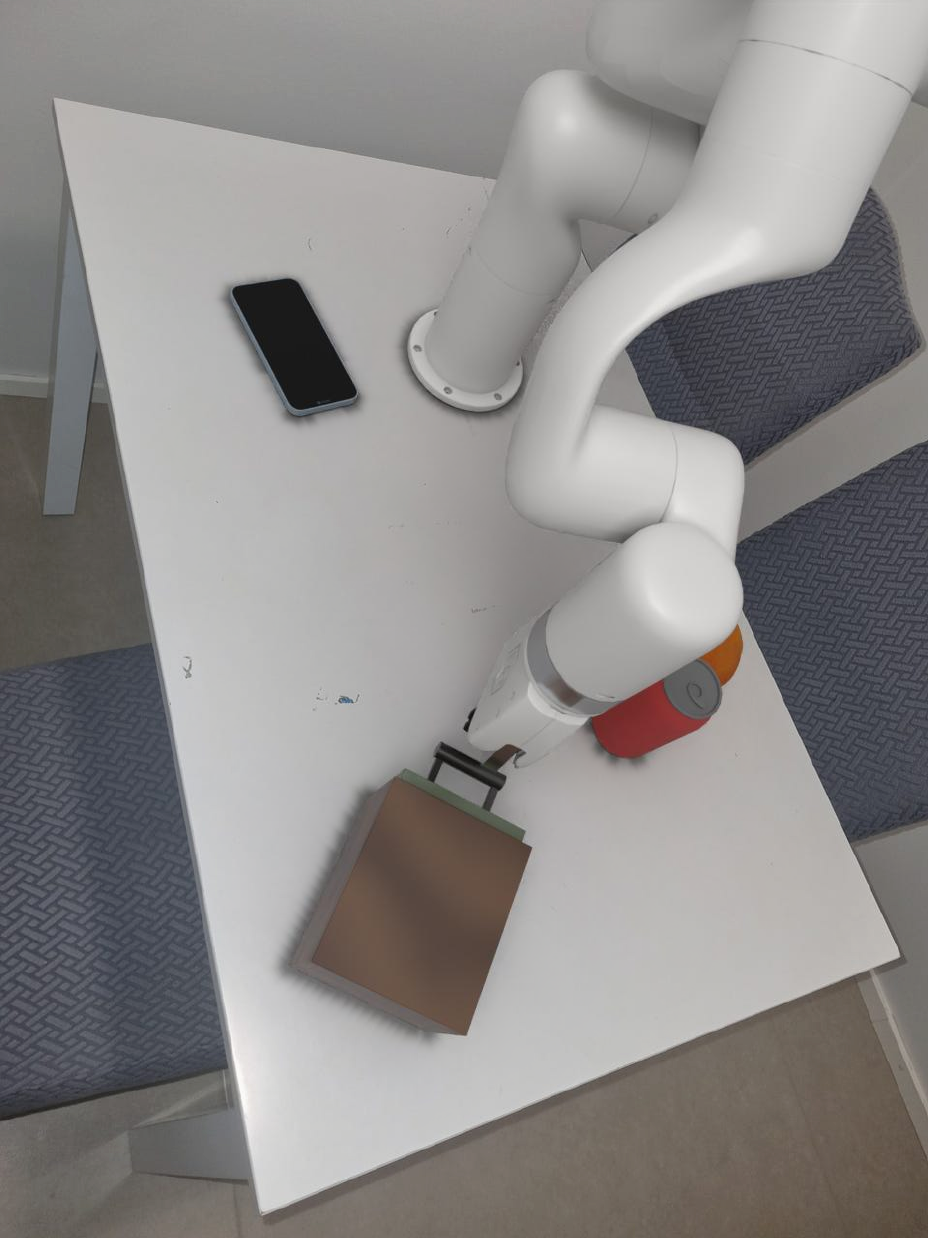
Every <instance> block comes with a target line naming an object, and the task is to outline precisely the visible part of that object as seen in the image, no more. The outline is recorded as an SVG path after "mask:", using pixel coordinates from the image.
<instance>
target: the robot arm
mask: <svg viewBox="0 0 928 1238" xmlns="http://www.w3.org/2000/svg"><path fill="white" fill-rule="evenodd" d="M585 53H586V57H587V60H588V63H589V66H590V68H591V69H592V71H593V72H594V73H592V72H588V71H583V70H577V69H569V68H568V69H567V68H566V69H565V68H564V69H563V68H562V69H555V70H551V71H548V72H546V73H544V74H542V75H540V76H539V77H538V78H536V79H535V80H534V81H533V82H532V83H531V84H530V85H529V87H528V88H527V89H526V91H525V93H524V95H523V97H522V99H521V100H520V103H519V105H518V108H517V111H516V114H515V117H514V120H513V125H512V128H511V132H510V135H509V139H508V141H507V142H508V143H507V147H506V150H505V153H504V158H503V161H502V164H501V167H500V170H499V173H498V176H497V179H496V181H495V184H494V186H493V189H492V192H491V194H490V196H489V198H488V201H487V203H486V205H485V208H484V210H483V212H482V214H481V217H480V218H479V220H478V223H477V225H476V227H475V230H474V232H473V234H472V236H471V239H470V240H469V243H468V245H467V246H466V249H465V251H464V254H463V256H462V257H461V260H460V262H459V264H458V266H457V268H456V270H455V273H454V274H453V277H452V279H451V281H450V283H449V285H448V287H447V290H446V291H445V294H444V296H443V298H442V299H441V302H440V305H439V307H438V308H434V309H432V310H429V311H427V312H426V313H424V314H423V315H421V316H420V317H418V319H417V320H416V321H415V323H414V324H413V326H412V329H411V331H410V333H409V336H408V340H407V347H406V349H407V350H406V351H407V357H408V362H409V364H410V367H411V369H412V371H413V373H414V375H415V376H416V378H417V379H418V381H419V382H420V383H421V384H422V386H423V387H424V388H425V389H426V390H428V392H429V393H430V394H432V395H433V396H434V397H435V398H436V399H438V400H440V401H442V402H443V403H445V404H447V405H450V406H451V407H453V408H457V409H459V410H463V411H468V412H476V413H481V412H490V411H494V410H497V409H499V408H502V407H503V406H505V405H507V404H508V403H509V402H510V401H511V400H513V398H514V396H515V395H516V394H517V392H518V390H519V388H520V387H521V384H522V381H523V375H524V367H523V361H522V357H523V355H524V353H525V352H526V350H527V349H528V347H529V345H530V343H531V342H532V340H533V339H534V337H535V336H536V334H537V332H538V331H539V329H540V328H541V327H542V325H543V323H544V322H545V319H546V318H547V317H548V315H549V314H550V312H551V310H552V309H553V308H554V305H555V304H556V302H557V301H558V299H559V298H560V296H561V294H562V293H563V291H564V290H565V288H566V286H567V285H568V283H569V282H570V280H571V279H572V277H573V275H574V274H575V272H576V270H577V268H578V266H579V263H580V260H581V255H582V250H583V249H582V248H583V240H582V231H581V226H580V221H579V220H585V221H589V222H593V223H596V224H600V225H602V224H603V225H605V226H609V227H612V228H614V229H615V228H616V229H619V230H622V231H625V232H628V233H631V234H634V235H636V236H635V237H633V238H632V239H630V240H628V241H627V242H626V243H624V244H623V245H622V246H621V247H618V249H617V250H615V251H614V252H613V253H611V254H610V255H608V257H607V258H606V259H605V260H603V261H602V262H600V263H599V265H598V266H597V267H596V268H594V270H593V271H592V272H591V273H590V274H589V275H588V276H587V277H586V278H585V279H584V280H583V281H582V282H581V284H580V285H578V287H577V288H576V289H575V290H574V292H573V293H572V294H571V295H570V296H569V298H568V299H567V301H566V302H565V303H564V305H563V306H562V307H561V309H560V310H559V312H558V313H557V314H556V316H555V318H554V319H553V321H552V322H551V324H550V325H549V327H548V329H547V331H546V334H545V335H544V337H543V339H542V341H541V344H540V347H539V349H538V351H537V354H536V356H535V360H534V363H533V366H532V369H531V373H530V376H529V379H528V381H527V385H526V386H525V387H526V388H525V390H524V393H523V396H522V399H521V402H520V405H519V408H518V411H517V415H516V417H515V421H514V424H513V427H512V430H511V435H510V438H509V443H508V447H507V452H506V457H505V465H504V466H505V467H504V485H505V492H506V495H507V498H508V501H509V503H510V506H511V507H512V509H513V510H514V511H515V512H516V514H517V515H518V516H519V517H520V518H521V519H523V520H524V521H526V522H528V523H529V524H531V525H533V526H535V527H538V528H540V529H543V530H547V531H551V532H557V533H560V534H567V535H571V536H577V537H582V538H589V539H594V540H600V541H606V542H611V543H616V544H620V545H618V546H617V548H616V549H614V550H613V551H612V552H611V553H610V554H609V555H608V556H607V557H605V558H604V559H603V560H602V561H601V562H600V563H599V564H598V565H596V567H594V568H593V569H592V570H591V571H590V572H589V573H587V574H586V575H585V576H584V577H583V578H582V579H581V580H580V581H579V582H578V583H577V584H575V585H574V586H573V587H572V588H571V589H569V591H568V592H566V593H565V594H564V595H563V596H561V598H560V599H558V600H557V601H556V602H555V603H554V604H552V605H550V606H548V607H547V608H545V609H543V610H542V611H541V612H539V613H538V614H536V615H535V616H534V617H532V618H531V619H530V620H528V621H527V622H526V623H525V624H523V625H522V626H521V627H519V629H517V630H516V631H515V632H513V633H512V634H511V635H510V636H509V637H508V639H507V640H506V642H505V643H504V645H503V647H502V649H501V651H500V653H499V655H498V657H497V659H496V662H495V664H494V666H493V668H492V671H491V673H490V676H489V678H488V680H487V682H486V684H485V687H484V690H483V692H482V694H481V697H480V699H479V702H478V703H477V706H475V707H474V708H472V710H471V711H470V712H469V713H468V716H467V719H468V720H467V721H465V723H464V725H463V728H462V730H463V731H464V732H466V733H467V740H468V743H469V745H471V746H472V747H474V748H475V749H476V750H478V751H481V752H483V755H482V757H481V760H480V762H481V763H480V766H482V767H484V768H486V769H488V770H490V771H491V772H493V773H496V772H497V771H498V772H499V770H501V768H502V767H504V766H505V765H506V764H507V762H509V761H510V760H511V759H512V758H513V757H514V758H513V761H512V765H513V767H514V769H523V768H526V767H529V766H531V765H533V764H535V763H536V762H538V761H539V760H542V759H543V758H545V757H546V756H547V755H549V754H550V753H551V752H553V751H554V750H556V749H557V748H559V747H560V746H561V745H562V744H563V743H565V742H566V741H567V740H568V739H569V738H571V737H572V736H573V735H574V734H575V733H576V732H578V730H579V729H581V727H582V726H584V725H585V724H586V722H588V720H589V719H590V718H592V717H593V716H597V715H600V714H603V713H604V712H606V711H608V710H610V709H611V708H613V707H615V706H617V705H618V704H620V703H622V702H623V701H625V700H627V699H629V698H630V697H632V696H633V695H635V694H637V693H639V692H640V691H642V690H644V689H646V688H647V687H649V686H651V685H653V684H654V683H656V682H658V681H660V680H661V679H663V678H665V677H666V676H668V675H670V674H672V673H673V672H675V671H677V670H678V669H680V668H682V667H684V666H685V665H687V664H689V663H691V662H692V661H694V660H696V659H697V658H699V657H701V656H703V655H704V654H706V653H708V652H709V651H711V650H713V649H714V648H716V647H717V646H718V645H720V644H721V643H723V642H724V641H725V640H726V639H727V638H728V637H729V636H730V634H731V633H732V632H733V630H734V629H735V627H736V626H737V624H738V625H739V622H740V619H741V616H742V613H743V607H744V586H743V583H742V578H741V575H740V573H739V570H738V568H737V566H736V555H737V545H738V537H739V529H740V523H741V517H742V509H743V503H744V495H745V490H746V489H745V488H746V483H745V481H746V479H745V477H746V475H745V474H746V473H745V466H744V461H743V458H742V455H741V452H740V451H739V449H738V448H737V446H736V445H735V444H734V443H733V442H732V441H731V440H730V439H728V438H727V437H725V436H723V435H721V434H719V433H716V432H713V431H710V430H706V429H703V428H699V427H694V426H691V425H686V424H682V423H677V422H672V421H669V420H664V419H661V418H660V417H656V416H651V415H647V414H643V413H639V412H635V411H631V410H626V409H622V408H618V407H614V406H610V405H606V404H603V403H598V402H596V400H597V398H598V395H599V392H600V390H601V388H602V385H603V384H604V382H605V380H606V378H607V375H608V374H609V371H610V370H611V368H612V367H613V366H614V364H615V363H616V361H617V359H618V358H619V357H620V355H621V354H622V352H623V351H624V350H625V349H626V348H627V347H628V346H629V345H630V344H631V342H632V341H633V340H634V339H636V337H638V336H639V335H640V334H642V333H643V332H644V331H645V330H646V329H647V328H648V327H650V326H651V325H652V324H654V323H655V322H656V321H657V322H658V320H660V319H662V318H663V317H665V316H666V315H668V314H670V313H671V312H673V311H675V310H677V309H679V308H681V307H684V306H685V305H688V304H691V303H692V302H695V301H697V300H700V299H703V298H706V297H709V296H711V295H715V294H719V293H722V292H727V291H729V290H733V289H736V288H741V287H746V286H750V285H755V284H756V285H757V284H761V283H767V282H774V281H781V280H788V279H794V278H798V277H804V276H807V275H810V274H812V273H813V274H814V273H815V272H819V271H820V270H822V269H824V268H825V267H827V266H829V265H830V264H831V263H832V262H833V260H835V259H836V257H838V254H840V251H841V250H842V248H843V246H844V244H845V242H846V240H847V237H848V235H849V232H850V230H851V228H852V226H853V224H854V222H855V219H856V217H857V215H858V213H859V211H860V209H861V207H862V205H863V202H864V200H865V198H866V196H867V194H868V191H869V189H870V188H871V185H872V183H873V181H874V179H875V177H876V175H877V172H878V170H879V168H880V166H881V164H882V162H883V160H884V157H885V155H886V154H887V151H888V149H889V147H890V145H891V143H892V141H893V139H894V137H895V134H896V132H897V131H898V128H899V126H900V124H901V122H902V119H903V117H904V115H905V113H906V111H907V109H908V106H909V105H910V103H911V102H912V103H914V104H917V105H920V106H922V107H924V108H926V109H928V0H596V2H595V4H594V6H593V9H592V11H591V14H590V17H589V21H588V25H587V28H586V33H585Z"/></svg>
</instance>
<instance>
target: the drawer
mask: <svg viewBox="0 0 928 1238" xmlns="http://www.w3.org/2000/svg"><path fill="white" fill-rule="evenodd" d="M432 757H433V758H434V760H433V762H432V765H431V767H430V770H429V772H428V774H427V776H426V777H423V776H421V775H420V774H418V773H416V772H414V771H413V770H411V769H408V768H407V767H405V768H404V769H403V770H401V771H400V772H399V773H397V774H396V775H395V776H396V777H398V778H400V779H402V780H404V781H406V782H408V783H410V784H412V785H414V786H415V787H417V788H419V789H421V790H423V791H425V792H427V793H429V794H431V795H433V796H435V797H437V798H439V799H440V800H442V801H444V802H446V803H448V804H450V805H452V806H454V807H456V808H458V809H460V810H462V811H464V812H465V813H467V814H469V815H471V816H473V817H475V818H477V819H479V820H481V821H483V822H485V823H487V824H489V825H490V826H492V827H494V828H496V829H498V830H500V831H502V832H504V833H506V834H508V835H510V836H512V837H514V838H515V839H517V840H519V841H521V842H523V840H524V838H525V836H526V832H527V830H525V829H523V828H521V827H519V826H518V825H516V824H514V823H512V822H510V821H508V820H506V819H504V818H502V817H500V816H499V815H497V814H495V813H492V812H491V810H492V808H493V804H494V803H495V800H496V797H497V794H498V792H500V791H501V790H502V789H503V788H504V786H505V784H506V782H507V777H508V776H507V775H506V774H505V773H502V772H500V771H499V770H498V771H497V772H496V773H493V772H491V771H490V770H488V769H486V768H484V767H482V766H480V763H481V760H480V761H479V760H478V759H476V758H474V757H472V756H470V755H468V754H467V753H464V752H463V751H461V750H459V749H457V748H455V747H454V746H451V745H450V744H447V743H445V742H444V741H439V743H438V744H437V746H436V747H435V749H434V751H433V754H432ZM443 763H444V764H445V765H447V766H449V767H452V768H453V769H455V770H457V771H458V772H461V773H462V774H465V775H466V776H468V777H470V778H472V779H474V780H476V781H478V782H479V783H481V784H483V785H485V786H487V787H489V788H488V791H487V793H486V796H485V799H484V800H483V804H482V806H479V805H478V804H475V803H474V802H472V801H470V800H468V799H466V798H465V797H463V796H460V795H458V794H456V793H454V792H453V791H451V790H449V789H446V788H445V787H443V786H441V785H439V784H437V783H436V780H437V778H438V775H439V773H440V770H441V769H442V766H443Z"/></svg>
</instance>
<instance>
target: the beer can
mask: <svg viewBox="0 0 928 1238" xmlns="http://www.w3.org/2000/svg"><path fill="white" fill-rule="evenodd" d="M722 687H723V686H722ZM722 687H721V683H720V681H719V678H718V676H717V674H716V673H715V671H714V670H713V668H712V667H711V666H710V665H709V664H708V663H706V662H705V661H704V660H703V659H701V658H697V659H696V660H694V661H692V662H691V663H689V664H687V665H685V666H684V667H682V668H680V669H678V670H677V671H675V672H673V673H672V674H670V675H668V676H666V677H665V678H663V679H661V680H660V681H658V682H656V683H654V684H653V685H651V686H649V687H647V688H646V689H644V690H642V691H640V692H639V693H637V694H635V695H633V696H632V697H630V698H629V699H627V700H625V701H623V702H622V703H620V704H618V705H617V706H615V707H613V708H611V709H610V710H608V711H606V712H604V713H603V714H600V715H597V716H593V717H591V721H592V728H593V731H594V734H595V737H596V739H597V740H598V741H599V742H600V744H601V745H602V747H603V748H604V749H606V750H607V751H608V752H609V753H610V754H612V755H614V756H617V757H619V758H623V759H635V758H638V757H642V756H644V755H646V754H649V753H650V752H652V751H654V750H657V749H659V748H661V747H664V746H666V745H668V744H670V743H672V742H674V741H676V740H678V739H681V738H683V737H685V736H687V735H689V734H692V733H694V732H696V731H698V730H700V729H701V728H702V727H703V726H704V725H706V724H707V723H708V722H709V721H710V720H711V718H712V716H714V715H715V714H716V713H717V712H718V710H719V709H720V707H721V705H722V701H723V688H722Z"/></svg>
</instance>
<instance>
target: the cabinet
mask: <svg viewBox="0 0 928 1238" xmlns="http://www.w3.org/2000/svg"><path fill="white" fill-rule="evenodd" d="M532 850H533V847H532V845H529V844H527V843H525V842H523V841H522V842H521V841H519V840H517V839H515V838H514V837H512V836H510V835H508V834H506V833H504V832H502V831H500V830H498V829H496V828H494V827H492V826H490V825H489V824H487V823H485V822H483V821H481V820H479V819H477V818H475V817H473V816H471V815H469V814H467V813H465V812H464V811H462V810H460V809H458V808H456V807H454V806H452V805H450V804H448V803H446V802H444V801H442V800H440V799H439V798H437V797H435V796H433V795H431V794H429V793H427V792H425V791H423V790H421V789H419V788H417V787H415V786H414V785H412V784H410V783H408V782H406V781H404V780H402V779H400V778H398V777H396V775H395V776H394V777H393V778H391V779H390V780H389V781H387V782H386V783H385V784H383V785H382V786H381V787H380V788H378V789H377V790H376V791H375V792H373V793H372V794H370V795H369V796H368V797H367V798H366V799H365V800H364V802H363V805H362V807H361V809H360V811H359V813H358V815H357V818H356V820H355V822H354V824H353V826H352V828H351V831H350V833H349V835H348V836H347V839H346V841H345V843H344V846H343V847H342V850H341V851H340V854H339V856H338V858H337V860H336V862H335V864H334V867H333V869H332V871H331V873H330V875H329V877H328V879H327V881H326V884H325V886H324V888H323V890H322V892H321V894H320V897H319V898H318V901H317V903H316V905H315V907H314V909H313V912H312V914H311V916H310V918H309V920H308V923H307V925H306V927H305V929H304V931H303V933H302V935H301V937H300V939H299V942H298V944H297V946H296V948H295V950H294V952H293V954H292V957H291V959H290V961H289V963H288V967H289V968H292V969H293V970H296V971H298V972H300V973H302V974H304V975H306V976H308V977H311V978H312V979H315V980H316V981H319V982H321V983H323V984H325V985H327V986H329V987H332V988H334V989H335V990H338V991H340V992H342V993H344V994H346V995H347V996H350V997H352V998H355V999H357V1000H358V1001H361V1002H363V1003H365V1004H367V1005H369V1006H371V1007H373V1008H376V1009H378V1010H380V1011H382V1012H384V1013H386V1014H388V1015H390V1016H392V1017H394V1018H396V1019H399V1020H400V1021H402V1022H405V1023H407V1024H409V1025H411V1026H413V1027H415V1028H418V1029H419V1030H422V1031H424V1032H426V1033H435V1034H444V1035H453V1036H461V1037H462V1036H463V1037H466V1036H468V1033H469V1030H470V1028H471V1024H472V1021H473V1018H474V1016H475V1013H476V1011H477V1007H478V1005H479V1001H480V999H481V995H482V992H483V990H484V987H485V984H486V981H487V979H488V978H487V977H488V976H489V973H490V971H491V970H490V969H491V967H492V964H493V961H494V959H495V955H496V952H497V950H498V947H499V944H500V942H501V939H502V935H503V933H504V930H505V928H506V924H507V921H508V919H509V916H510V913H511V910H512V907H513V905H514V902H515V898H516V896H517V893H518V890H519V887H520V885H521V882H522V878H523V877H524V876H523V875H524V873H525V870H526V868H527V864H528V861H529V858H530V855H531V853H532Z"/></svg>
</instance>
